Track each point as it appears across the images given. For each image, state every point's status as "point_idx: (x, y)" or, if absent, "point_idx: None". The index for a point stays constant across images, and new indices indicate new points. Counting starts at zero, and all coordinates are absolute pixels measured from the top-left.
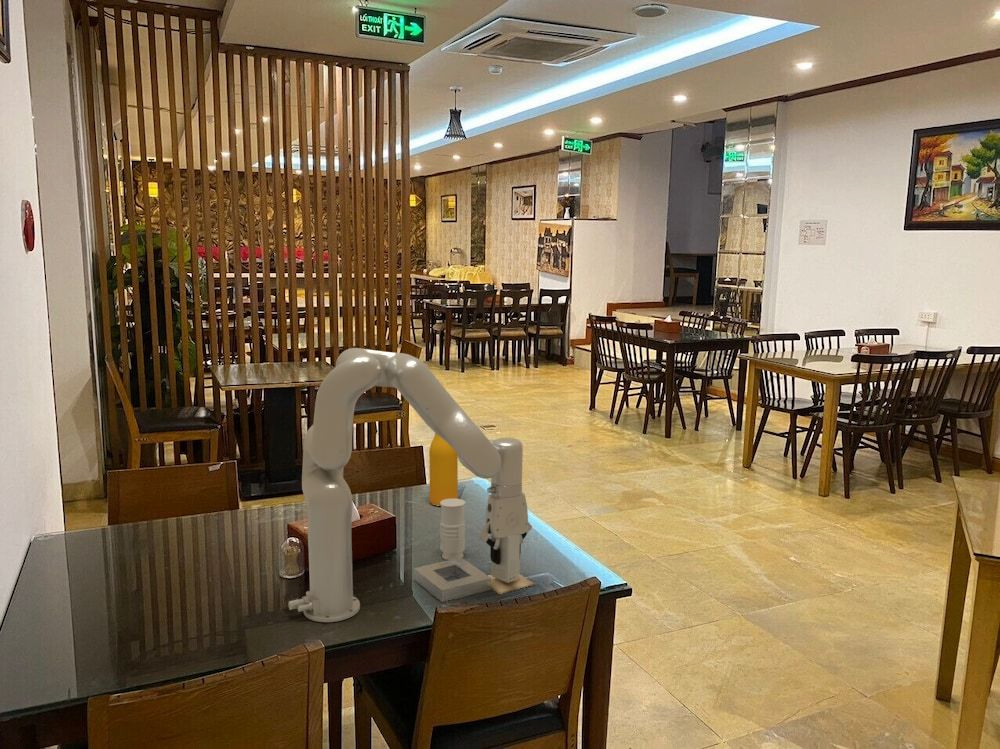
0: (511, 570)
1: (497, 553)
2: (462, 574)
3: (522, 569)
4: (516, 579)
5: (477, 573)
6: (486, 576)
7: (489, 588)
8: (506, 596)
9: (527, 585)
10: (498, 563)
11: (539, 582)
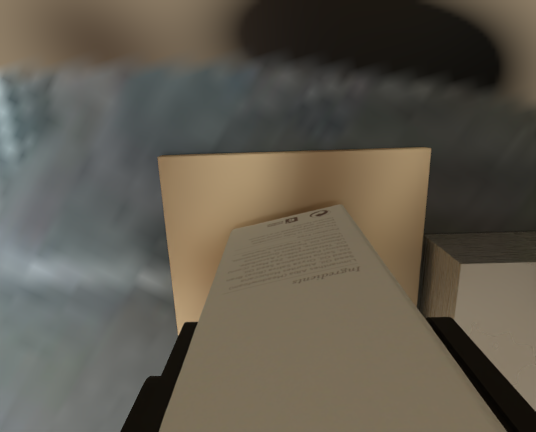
0: (318, 237)
1: (521, 415)
2: None
3: (120, 369)
4: (257, 224)
5: None
6: (472, 300)
7: (439, 237)
8: (401, 105)
9: (211, 155)
10: (446, 320)
11: (108, 179)
